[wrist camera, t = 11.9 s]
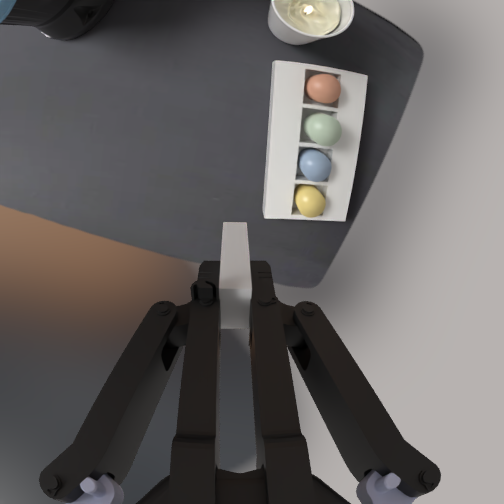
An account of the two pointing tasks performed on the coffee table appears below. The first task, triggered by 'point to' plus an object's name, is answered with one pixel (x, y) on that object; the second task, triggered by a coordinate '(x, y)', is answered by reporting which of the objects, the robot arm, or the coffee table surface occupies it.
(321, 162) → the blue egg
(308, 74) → the white slotted tray
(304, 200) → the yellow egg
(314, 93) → the orange rounded piece
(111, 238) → the coffee table surface
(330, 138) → the pale green rounded piece
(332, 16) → the candle holder
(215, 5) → the coffee table surface
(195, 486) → the robot arm
